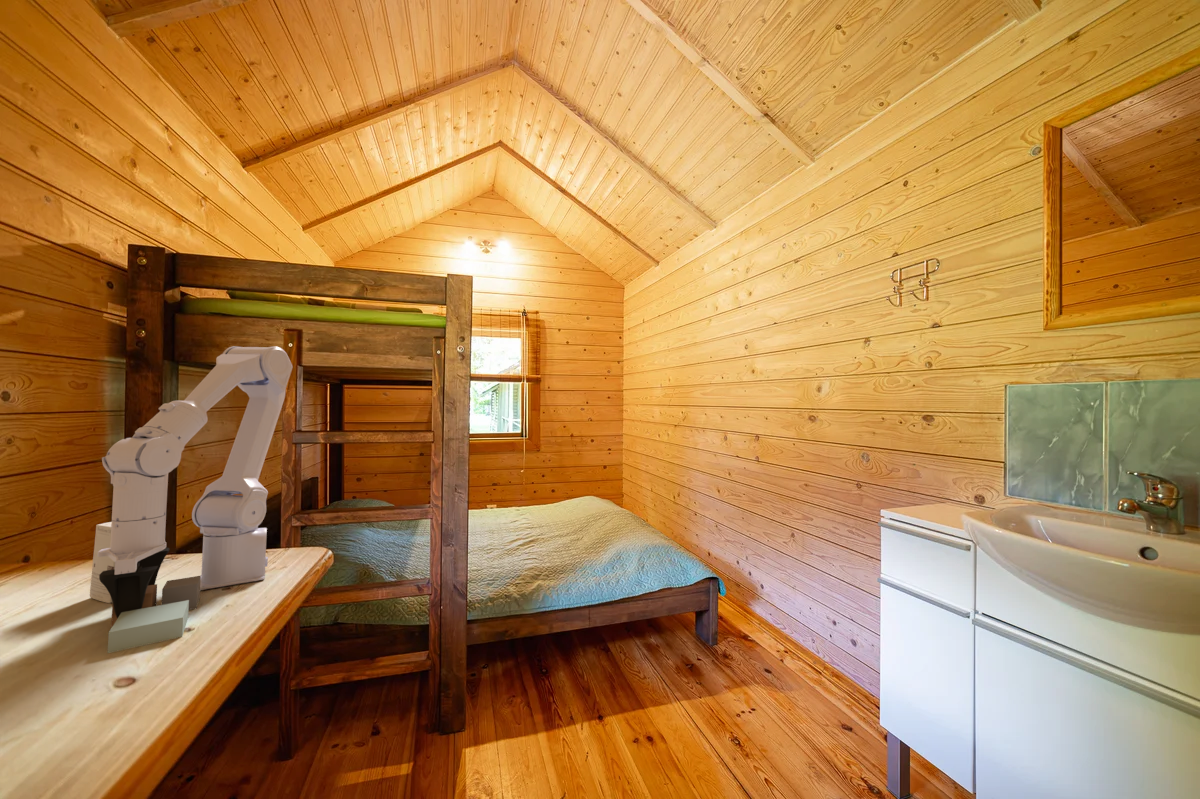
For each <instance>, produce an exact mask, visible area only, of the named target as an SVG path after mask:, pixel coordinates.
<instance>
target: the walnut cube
mask: <svg viewBox="0 0 1200 799" xmlns="http://www.w3.org/2000/svg"><path fill="white" fill-rule="evenodd" d="M157 595H158V583H155V585H148V587H147V590H146V593H145V598H144V602H143V606H142V608H148V607H153V606H157ZM111 605H112V606H111V607H112V608H111V623H110V625H111V626H110V627H111V628H112V626H113V625H114V623H115V622H116V620H117V617H116V614H115V610H114V606H113V602H112V603H111Z"/></svg>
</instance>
